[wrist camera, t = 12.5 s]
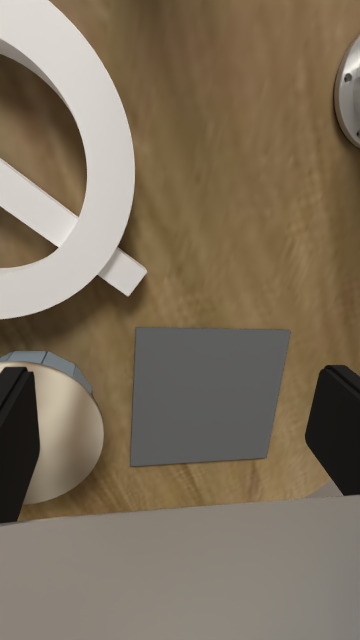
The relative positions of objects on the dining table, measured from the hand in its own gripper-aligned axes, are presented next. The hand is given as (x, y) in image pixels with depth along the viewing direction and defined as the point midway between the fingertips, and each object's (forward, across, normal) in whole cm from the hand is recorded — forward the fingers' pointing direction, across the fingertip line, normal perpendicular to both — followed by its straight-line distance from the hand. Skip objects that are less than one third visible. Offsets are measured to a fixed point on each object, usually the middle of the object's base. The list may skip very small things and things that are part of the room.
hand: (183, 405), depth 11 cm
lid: (+22, +13, +18) cm, 31 cm away
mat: (+29, -9, +19) cm, 36 cm away
